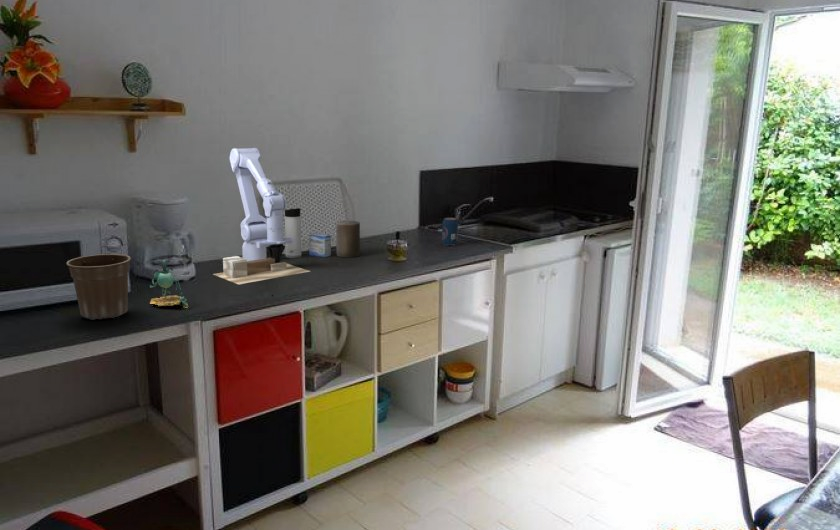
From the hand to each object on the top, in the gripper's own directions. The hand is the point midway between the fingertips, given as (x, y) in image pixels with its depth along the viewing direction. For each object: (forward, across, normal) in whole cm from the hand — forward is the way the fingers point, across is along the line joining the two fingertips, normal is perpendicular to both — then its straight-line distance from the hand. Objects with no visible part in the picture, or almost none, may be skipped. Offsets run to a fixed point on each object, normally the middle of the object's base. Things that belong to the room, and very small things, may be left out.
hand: (276, 264), depth 244 cm
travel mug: (+3, +18, +16) cm, 24 cm away
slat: (+1, -9, 0) cm, 10 cm away
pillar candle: (+3, +37, +5) cm, 38 cm away
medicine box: (+3, +28, +12) cm, 31 cm away
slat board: (+2, -7, -2) cm, 8 cm away
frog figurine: (+3, -48, -16) cm, 50 cm away
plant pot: (+3, -66, -14) cm, 67 cm away
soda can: (+3, +86, -6) cm, 87 cm away
